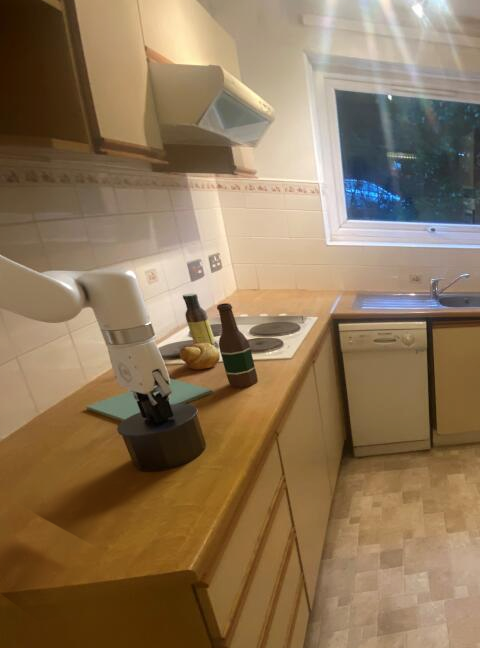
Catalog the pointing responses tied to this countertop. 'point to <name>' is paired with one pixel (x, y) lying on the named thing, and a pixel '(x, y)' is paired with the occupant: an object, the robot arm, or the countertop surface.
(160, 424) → the pot lid
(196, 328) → the sauce bottle
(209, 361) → the bread roll
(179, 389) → the cutting board
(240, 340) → the beer bottle
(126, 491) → the countertop surface
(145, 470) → the pot
